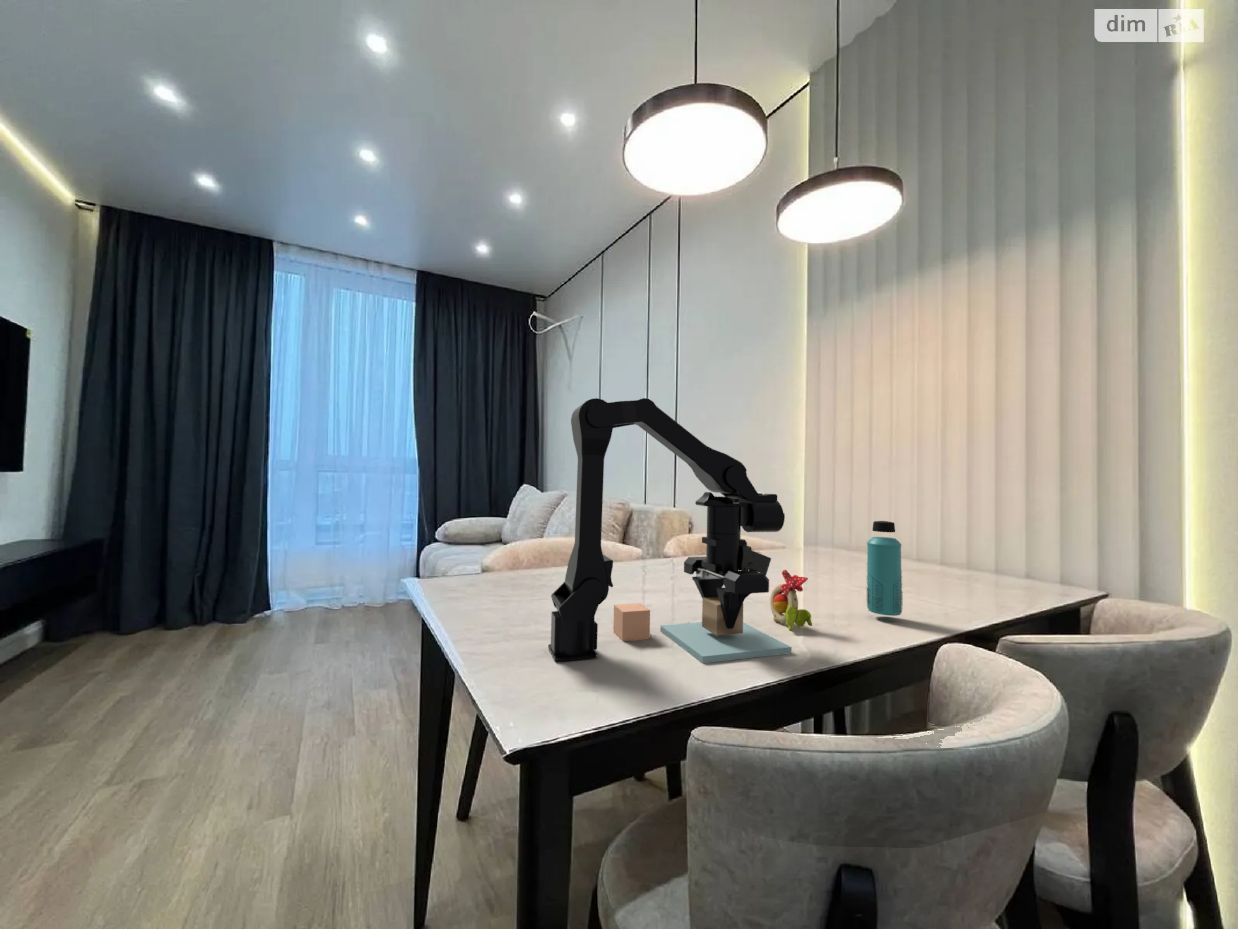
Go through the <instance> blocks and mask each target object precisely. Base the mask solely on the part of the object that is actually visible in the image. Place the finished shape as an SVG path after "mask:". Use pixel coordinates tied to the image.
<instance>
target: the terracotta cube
mask: <svg viewBox="0 0 1238 929" xmlns="http://www.w3.org/2000/svg"><path fill="white" fill-rule="evenodd" d="M612 627H613V628H612V630H613V634H615V636H616V637H619V638H618V639H619V641H621V640H622V641H621V642H629V641H628V640H632V641H640V640H641V641H642V640H650V636H651V633H650V632H651V631H650V630H651V610H650V609H649V608H648V607H646V606H645V605H643V604H642V603H641V602H636V603H635V602H634V603H633V602H632V603H619V604H614V605H613V626H612Z"/></svg>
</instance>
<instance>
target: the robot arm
mask: <svg viewBox="0 0 1238 929" xmlns="http://www.w3.org/2000/svg"><path fill="white" fill-rule="evenodd" d="M570 424H571V431H572V438H573V444H574V447H575V452H576V456H577V470H576V471H577V474H576V498H575V499H576V500H575V502H576V504H575V526H574V528H575V529H574V543H573V548H572V550H571V554H570V556H569V559H568V563H567V567H566V573H565V577H564V581H563V582H562V584H560V585H559V586H558V587H557V589H556V590H554V591H553V592H552V593H551V595H550V598H551V601H552V604H553V606H554V608H555V609H556V611H551V622H550V626H551V628H550V644H547V645H548V646H547V648H548V651H549V652H550V654H551V656H552V658H553V660H554V661H555V662H565V661H574V660H575V661H576V660H587V659H595V658H597V657H598V654H597V652H596V650H598V628H599V626H598V625H599V623H597V622H596V620H595V616H596V613H597V610H598V608H599V605H601V604H602V603H603V602H604V601H605V600H606V599H607V597H608V595H609V590H610V589H609V588H613V587H614V584H613V581H612V572H613V567H614V566H613V565H614V560H612V559H611V558H609V557H608V556H606V555H605V554H604V553H603V550H602V549H603V548H602V529H603V527H602V526H603V501H604V476H605V475H604V471H605V467H604V466H605V456H606V454H607V450H608V448H609V444H610V442H611V439H612V435H613V429H615V428H622V427H627V426H634V425H636V426H638V427H639V428H641V429H642V430H643V431H644V432H646V433H647V434H648V435H650V436H651V437H653V439H655V440H656V441H658V442H659V443H660V444H661V445H662V446H663V447H665V448H667V449H668V450H669V451H670V452H672V454H674V455H675V456H677V457H678V458H679V459H681V460H682V461H683V462H684V463H686V464H687V465H688V467H690V468H691V471H692V472H693V473H694V476H695V477H696V478H697V479H698V480H699V481H700V483H701V484H702V485H703V486H704V487H705V488H706V489H707V490H708V491H705V492H704V493H703V494H702V496H700V497H699V498H698V499H697V500H696V501H695V503H694V504H695V505H696V506H702V507H706V509H707V510H706V536H702V537H701V543H702V544H705V545H706V548H705V549H706V552H705V553H706V554H705V555H706V556H688V557H687V558H686V559H685V560H684V562H683V573H686V574H688V575H694V573H695V576H692V577H691V580H692V581H694V584H695V586H696V588H697V590H698V592H699V594H700V596H701V598H702V600H703V598H708V597H719V600H720V604H721V608H722V613H723V617H724V620H725V624H726V627H727V628H728V629H732V628H734V625H735V622H736V620H737V617H738V614H739V611H740V609H741V606H742V604H743V605H744V601H745V600H746V598H747V597H749V596H750V595H751V594H759V593H760V594H762V593H763V594H764V593H769V592H770V579H769V578H768V577H767V573H768V570H769V567H770V564H771V562H772V561H771V560H772V557H769V556H767V555H764V554H762V553H759V552H757V551H755V550H754V551H753V549H752V546H749V545H748V541H747V540H746V539H744V538H741V535H742V534H741V533H742V532H741V531H742V530H743V531H744V532H746V533H777V532H779V531H780V532H781V530H782V528H783V527H784V523H785V519H786V518H785V512H784V510H783V507H782V505H781V502H779V501H778V494H776V493H763V494H759V493H758V491H757V490H756V488H755V487H754V485H753V483H752V482H751V480H750V479H749V477H748V474H747V471H748V470H747V468H746V466H745V465H744V464H743V462H741V461H740V460H738V459H736V458H734V457H732V456H730V455H729V454H727V453H724V452H721V451H718V450H716V449H714V448H712V447H710V446H707V445H706V444H705V443H704V442H703V441H702V440H700V439H698V438H697V437H696V436H695V435H694V434H692V433H691V432H690V431H688V430H687V429H686V428H684V427H683V426H682V425H681V424H679V423H678V422H677V421H676V420H675V419H674V418H672V417H671V416H670V415H668V414H667V413H666V412H664V411H663V410H662V409H661V408H659V407H658V406H657V405H656V403H655V402H654V401H653V400H651V399H650V398H647V397H646V398H645V397H643V398H640V399H637V400H636V399H635V400H619V401H612V402H607V401H606V400H604V399H601V398H597V397H595V398H590V399H588V400H586V401H584V402H583V403H581V404H580V405H579V406H577V407H576V408H575V409H574V410H573V412H572V414H571V418H570ZM713 493H717V494H718V493H720V494H721V495H722V496H715V495H714V494H713ZM732 499H736V500H737V499H738V502H734V501H733V500H732ZM741 528H742V530H741Z"/></svg>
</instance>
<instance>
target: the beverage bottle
mask: <svg viewBox="0 0 1238 929" xmlns="http://www.w3.org/2000/svg"><path fill="white" fill-rule="evenodd" d="M872 531H873V532H877V533H879V532H880V533H896V526H895V522H893V521H887V520H875V521H873V522H872ZM866 545H867V548H866V549H867V551H866V552H867V554H866V555H867V557H866V561H867V562H866V574H867V575H866V581H865V582H866V585H867V586H866V607H867V609H868V611H869V612H871V613H873V614H876V615H877V614H878V615H881V616H890V617H891V616H892V617H893V616H894V617H895V616H896V617H897V616H901V615H902V612H903V600H904V599H903V575H902V574H903V571H902V543H901V542H900V541H899V540H898V539H896V538H894V537H886V536H873V537H871V538H870V539H868V541H867V542H866Z"/></svg>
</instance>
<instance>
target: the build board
mask: <svg viewBox="0 0 1238 929" xmlns="http://www.w3.org/2000/svg"><path fill="white" fill-rule="evenodd" d="M659 627H660V628H659V629H660V630H659V631H660V632H661V633H662V634H664V635H665V636H666V637H668V639H670V640H672V641H673V642H674V643H675V644H677V645H678V646H679V647H680V648H682V649H683V650H685V651H686V652H687V653H689V654H690V655H691V656H692V657H694V658H695V659H696V660H697V661H699V662H700V663H701V664H707V663H718V662H723V661H724V662H725V661H733V660H745V659H753V658H763V657H771V656H779V654H782V655H790V654H792V646H790V645H788V644H786V643H784V642H783V641H780V640H778V639H777V638H775V637H773V636H771V635H769V634H767V633H766V632H763V631H760V630H759V629H757V628H756V627H753V626H751V625H750V624H747V623H746V622H744V621H743V633H740V634H729V635H718V636H716V635H715V634H713V633H712V632H710V631H708V630H707V629H705V628H703V627H702V621H699V622H688V623H687V622H685V623H674V624H661V625H660V626H659Z"/></svg>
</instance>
